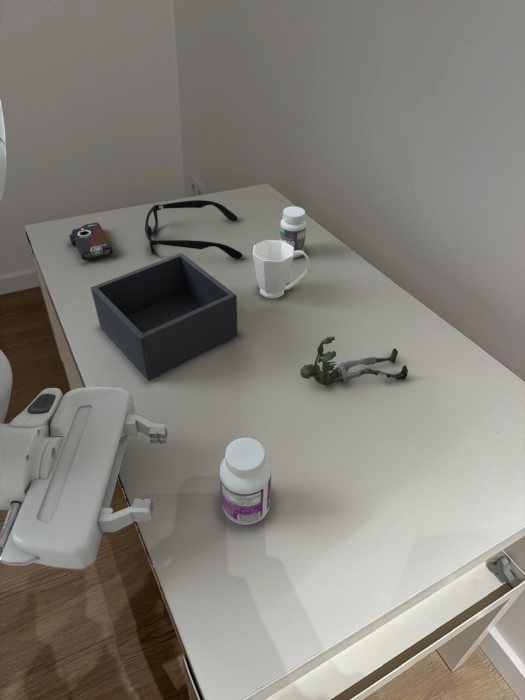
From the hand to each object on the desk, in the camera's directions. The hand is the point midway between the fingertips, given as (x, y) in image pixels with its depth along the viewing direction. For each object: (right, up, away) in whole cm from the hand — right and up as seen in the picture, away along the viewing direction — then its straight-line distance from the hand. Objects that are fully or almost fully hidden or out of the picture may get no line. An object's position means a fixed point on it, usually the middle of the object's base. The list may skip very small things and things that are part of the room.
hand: (159, 469), depth 54 cm
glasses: (-3, +34, +47) cm, 58 cm away
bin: (-4, +15, +26) cm, 30 cm away
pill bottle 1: (+9, -5, +4) cm, 11 cm away
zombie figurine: (+23, +9, +19) cm, 31 cm away
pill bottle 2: (+16, +31, +44) cm, 56 cm away
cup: (+14, +23, +35) cm, 44 cm away
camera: (-22, +32, +44) cm, 59 cm away
